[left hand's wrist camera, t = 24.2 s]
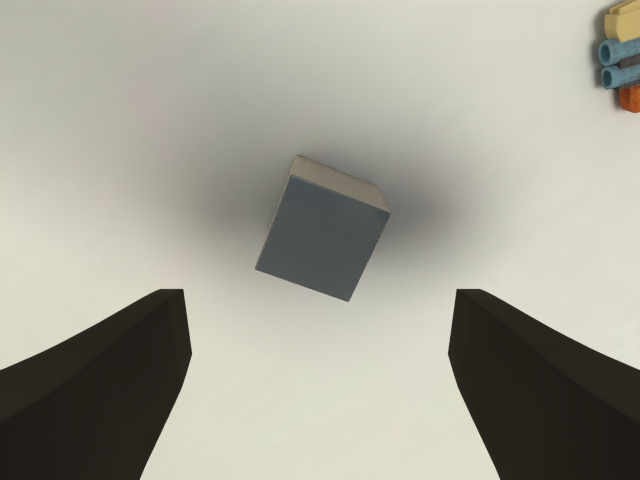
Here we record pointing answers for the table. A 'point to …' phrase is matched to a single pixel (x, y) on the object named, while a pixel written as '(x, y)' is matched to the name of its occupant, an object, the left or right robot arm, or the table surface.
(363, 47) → the table surface
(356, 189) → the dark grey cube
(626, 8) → the toy gun
